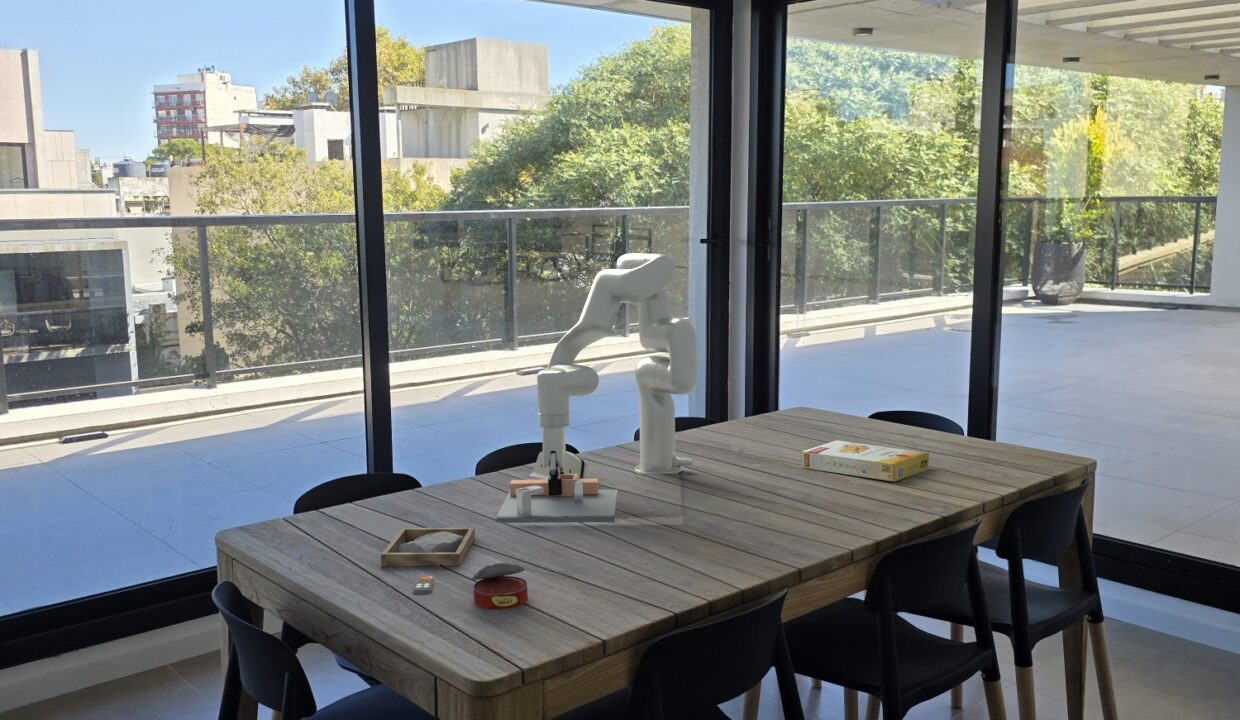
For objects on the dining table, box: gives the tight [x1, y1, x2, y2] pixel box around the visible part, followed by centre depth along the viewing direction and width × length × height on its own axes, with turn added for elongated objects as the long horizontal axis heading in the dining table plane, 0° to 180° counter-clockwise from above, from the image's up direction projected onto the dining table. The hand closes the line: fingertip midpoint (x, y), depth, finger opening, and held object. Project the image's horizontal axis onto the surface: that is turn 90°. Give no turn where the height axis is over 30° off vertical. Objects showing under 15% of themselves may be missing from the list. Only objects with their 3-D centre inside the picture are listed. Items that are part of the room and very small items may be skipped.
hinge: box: [528, 450, 588, 480], centre depth 280 cm, size 17×5×10 cm, turn 48°
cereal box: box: [801, 439, 930, 483], centre depth 291 cm, size 20×6×28 cm
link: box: [509, 474, 599, 496], centre depth 265 cm, size 22×6×4 cm, turn 88°
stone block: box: [398, 532, 463, 553], centre depth 225 cm, size 12×5×10 cm
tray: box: [380, 527, 476, 567], centre depth 226 cm, size 16×18×2 cm
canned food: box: [471, 562, 528, 611], centre depth 197 cm, size 11×10×10 cm
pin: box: [574, 480, 583, 503], centre depth 257 cm, size 2×2×6 cm
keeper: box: [516, 485, 544, 517], centre depth 249 cm, size 6×3×7 cm, turn 128°
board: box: [496, 489, 619, 524], centre depth 257 cm, size 27×23×2 cm
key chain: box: [412, 575, 434, 595], centre depth 208 cm, size 13×4×2 cm, turn 4°
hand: (556, 490), depth 265 cm, fingers closed on link, 6 cm apart
